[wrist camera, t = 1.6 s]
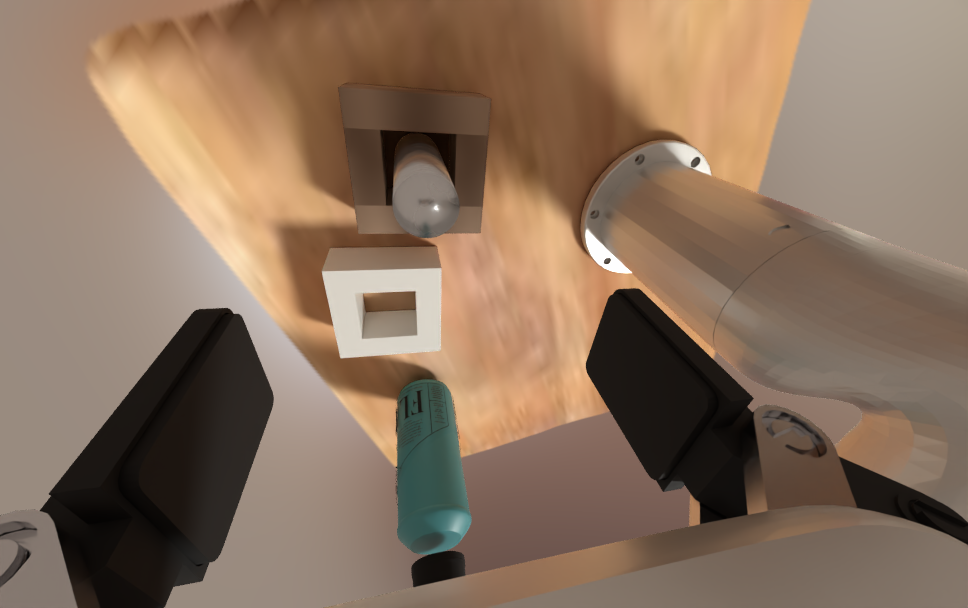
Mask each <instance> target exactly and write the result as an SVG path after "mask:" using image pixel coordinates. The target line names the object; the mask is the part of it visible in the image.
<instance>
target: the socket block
mask: <svg viewBox="0 0 968 608" xmlns="http://www.w3.org/2000/svg"><path fill="white" fill-rule="evenodd" d="M338 89H339V96H340V104H341V111H342V118H343V125H344V133H345V140H346V147H347V155H348V162H349V169H350V176H351V184H352V191H353V198H354V205H355V213H356V220H357V227H358V234H410V233H408V232H407V231H405V230H404V229H403V228H402V227H401V226H400V225H399V223H398V222H397V220H396V218H395V216H394V212H393V205H392V202H393V188H388V186H387V173H386V161H385V148H384V135H383V130H394V131H412V132H430V133H449V176H450V178H451V181H452V183H453V185H454V188H455V190H456V192H457V195H458V198H459V203H460V209H459V215H458V218H457V220H456V222H455V223H454V225H453V226H452V227H451V228H450V229H449V230H448V231H447V232H445V233H481V221H482V208H483V196H484V183H485V170H486V158H487V145H488V132H489V120H490V107H491V99H490V98H488V97H486V96H484V95H482V94H479V93H467V92H454V91H442V90H429V89H417V88H404V87H392V86H379V85H367V84H354V83H345V84H343V85H341V86H339V87H338Z"/></svg>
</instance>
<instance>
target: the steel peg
mask: <svg viewBox="0 0 968 608" xmlns="http://www.w3.org/2000/svg"><path fill="white" fill-rule="evenodd" d="M392 205H393V212H394V216H395V218H396V220H397V222H398V223H399V225H400V226H401V227H402V228H403V229H404V230H405V231H407V232H408V233H410V234H412V235H414V236H417V237H422V238H432V237H437V236H440V235H442V234H444V233H445V232H447V231H448V230H449V229H450V228H451V227H452V226H453V225H454V223H455V222H456V220H457V218H458V215H459V209H460V203H459V198H458V195H457V192H456V190H455V188H454V185H453V183H452V181H451V178H450V176H449V173H448V171H447V169H446V166H445V164H444V162H443V159H442V157H441V155H440V152H439V150H438V148H437V146H436V144H435V143H434V141H433V140H432V139H431V138H429V137H428V136H426V135H424V134H421V133H411V134H408V135H406V136H404V137H403V138H402V139H401V140H400V141H399V142H398V144H397V146H396V149H395V158H394V180H393V202H392Z"/></svg>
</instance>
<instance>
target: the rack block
mask: <svg viewBox="0 0 968 608" xmlns="http://www.w3.org/2000/svg"><path fill="white" fill-rule="evenodd" d="M322 275H323V280H324V285H325V289H326V294H327V298H328V303H329V308H330V312H331V317H332V322H333V326H334V331H335V335H336V340H337V345H338V349H339V354H340V358H352V357H365V356H378V355H391V354H404V353H418V352H431V351H441V264H440V259H439V254H438V249H437V246H434V247H361V248H330V250H329V252H328V255H327V258H326V261H325V263H324V266H323V269H322ZM406 291H415V301H416V310H399V311H380V312H366V311H365V304H364V297H363V293H381V292H406Z"/></svg>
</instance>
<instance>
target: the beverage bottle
mask: <svg viewBox="0 0 968 608" xmlns="http://www.w3.org/2000/svg"><path fill="white" fill-rule="evenodd" d="M396 401H397V400H396ZM453 402H454V401H453ZM396 404H397V407H396V408H397V411H396V432H397V444H396V445H397V448H396V449H397V467H396V468H397V471H398V472H397V484H398V485H397V494H398V504H397V505H398V529H397V535H398V538H399V540H400V541H401V542H402V543H403V544H404V545H405V546H406V547H407V548H408V549H410V550H411V551H413V552H414V553H418V554H430V555H427V556H425V557H422V558H421V559H419V560H417V561H416V562H415V563H414V564H413V565H412V568H411V569H412V579H413V587H418V586H422V585H426V584H431V583H435V582H440V581H444V580H449V579H453V578H458V577H462V576H465V559H464V555H463V554H462V553H460V552H456V551H446V550H448V549H451V548H452V547H454V546H456V545H457V544H458V543H459V542H460V541H461V539H462V538H463V536H464V535H465V534H466V532H467V530H468V528H469V527H470V524H471V514H470V512H469V506H468V500H467V494H466V487H465V481H464V475H463V469H462V463H461V456H460V450H459V441H458V434H459V432H457V428H456V425H457V424H456V421H457V420H456V419H455V415H456V413H454V411H455V410H454V409H453V405H454V403H452V396H451V393H450V391H449V389H448V387H447V386H446V385H445V384H443V383H442V382H440V381H437V380H431V379H423V380H418V381H414V382H412V383H410V384H408V385H407V386H405V387H404V388H403V389H402V390H401V392H400V394H399V396H398V401H397V403H396ZM454 408H455V407H454ZM454 414H455V415H454ZM455 420H456V421H455ZM457 427H458V425H457Z"/></svg>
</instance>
